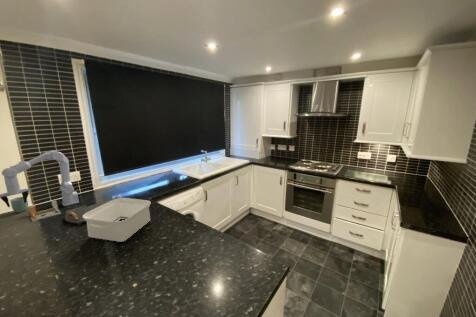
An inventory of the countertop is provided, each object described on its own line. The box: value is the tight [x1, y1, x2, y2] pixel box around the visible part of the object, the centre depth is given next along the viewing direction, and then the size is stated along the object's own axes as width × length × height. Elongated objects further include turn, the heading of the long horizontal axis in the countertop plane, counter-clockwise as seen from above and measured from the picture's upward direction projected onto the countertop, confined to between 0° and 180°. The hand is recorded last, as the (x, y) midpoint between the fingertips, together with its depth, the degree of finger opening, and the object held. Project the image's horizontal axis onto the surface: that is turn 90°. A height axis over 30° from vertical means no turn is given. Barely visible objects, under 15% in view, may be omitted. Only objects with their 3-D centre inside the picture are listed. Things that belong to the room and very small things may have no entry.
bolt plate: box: [30, 209, 62, 222], centre depth 136 cm, size 14×8×1 cm, turn 139°
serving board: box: [64, 196, 122, 226], centre depth 142 cm, size 39×23×6 cm, turn 148°
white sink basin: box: [82, 197, 151, 243], centre depth 118 cm, size 34×29×15 cm
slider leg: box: [28, 205, 37, 217], centre depth 134 cm, size 2×11×6 cm, turn 50°
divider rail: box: [30, 200, 59, 216], centre depth 138 cm, size 14×11×6 cm
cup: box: [9, 196, 29, 213], centre depth 141 cm, size 8×8×10 cm
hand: (17, 204), depth 131 cm, fingers open, 7 cm apart
